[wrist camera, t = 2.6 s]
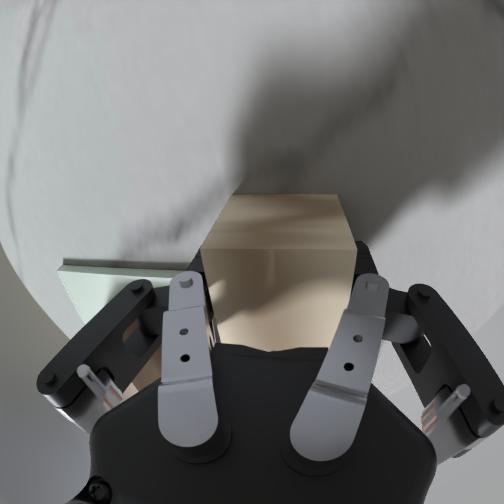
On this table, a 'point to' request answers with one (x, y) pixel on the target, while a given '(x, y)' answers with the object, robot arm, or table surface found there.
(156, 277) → the build plate
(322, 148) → the table surface
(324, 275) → the cube maple
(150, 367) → the cube walnut
